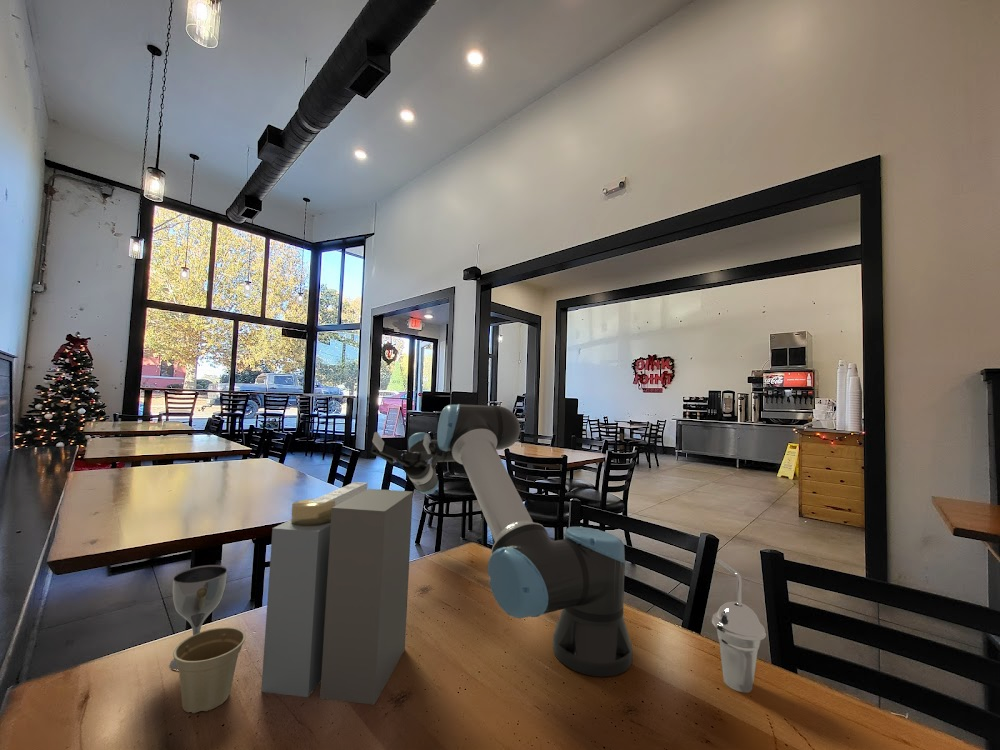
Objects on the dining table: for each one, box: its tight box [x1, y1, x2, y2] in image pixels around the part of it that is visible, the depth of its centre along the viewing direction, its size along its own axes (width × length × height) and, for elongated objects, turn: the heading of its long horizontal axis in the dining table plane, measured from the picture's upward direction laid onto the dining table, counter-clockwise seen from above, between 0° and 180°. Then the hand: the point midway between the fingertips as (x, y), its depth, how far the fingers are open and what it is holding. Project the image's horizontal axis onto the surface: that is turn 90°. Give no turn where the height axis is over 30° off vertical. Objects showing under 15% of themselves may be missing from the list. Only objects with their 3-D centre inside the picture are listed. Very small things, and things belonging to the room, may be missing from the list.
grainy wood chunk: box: [290, 481, 368, 526], centre depth 83 cm, size 7×23×3 cm, turn 174°
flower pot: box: [172, 626, 247, 714], centre depth 67 cm, size 9×9×9 cm
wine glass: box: [168, 564, 228, 670], centre depth 77 cm, size 8×8×15 cm
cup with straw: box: [711, 558, 767, 693], centre depth 76 cm, size 8×9×20 cm
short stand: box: [260, 519, 331, 698], centre depth 76 cm, size 8×15×26 cm, turn 174°
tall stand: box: [319, 488, 414, 705], centre depth 76 cm, size 9×15×30 cm, turn 174°
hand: (399, 438), depth 111 cm, fingers open, 13 cm apart
